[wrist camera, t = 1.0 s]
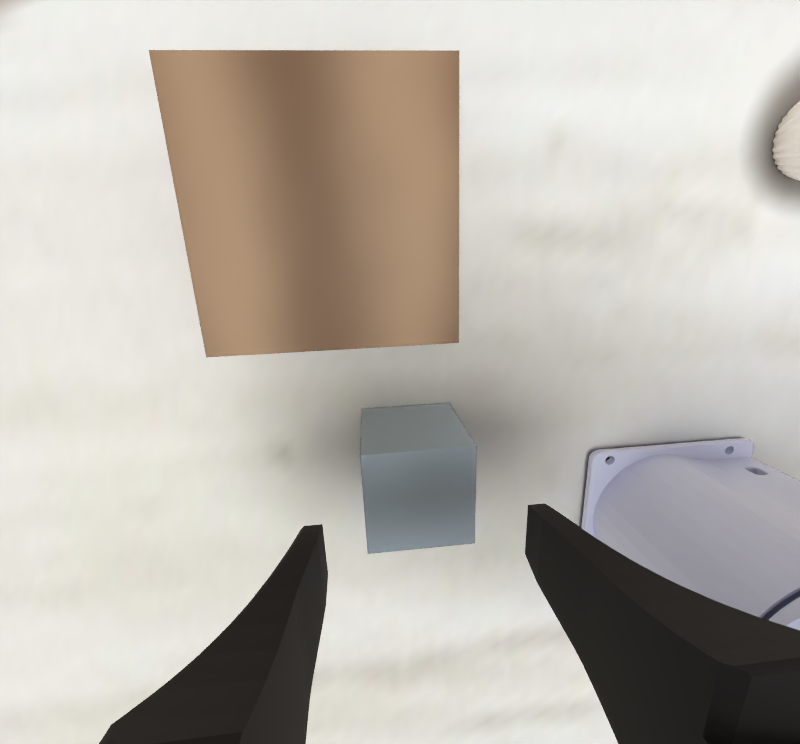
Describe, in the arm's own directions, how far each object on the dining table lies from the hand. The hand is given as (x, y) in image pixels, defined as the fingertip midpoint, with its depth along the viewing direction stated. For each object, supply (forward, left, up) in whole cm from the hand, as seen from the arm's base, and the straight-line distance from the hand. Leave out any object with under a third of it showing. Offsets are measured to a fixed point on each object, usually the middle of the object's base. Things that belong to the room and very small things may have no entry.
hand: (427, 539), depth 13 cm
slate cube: (0, 0, -7) cm, 7 cm away
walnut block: (+3, -11, -7) cm, 13 cm away
